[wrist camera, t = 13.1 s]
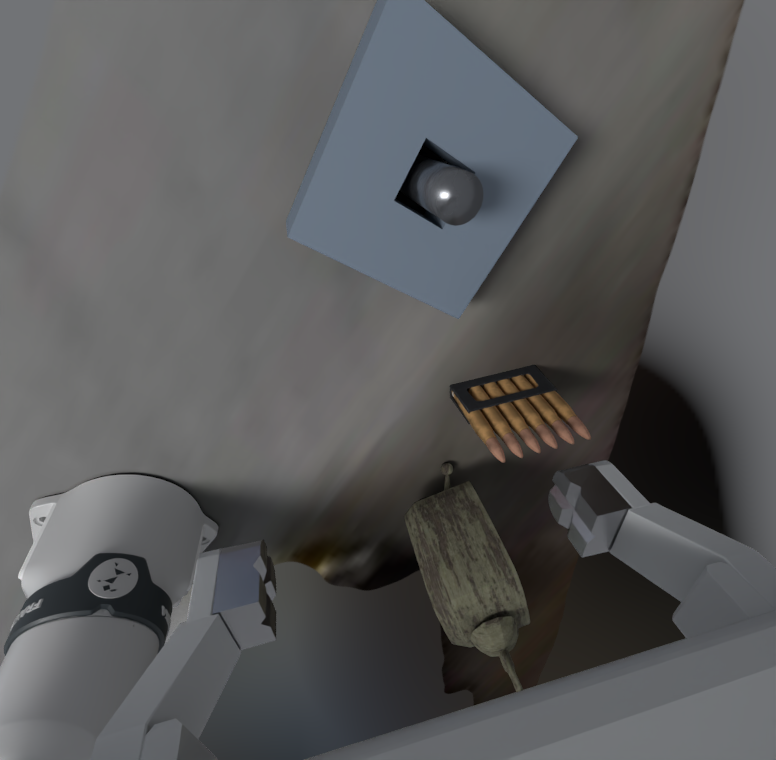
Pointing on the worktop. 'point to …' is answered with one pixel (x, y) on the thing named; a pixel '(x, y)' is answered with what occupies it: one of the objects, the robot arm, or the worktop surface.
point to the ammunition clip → (516, 410)
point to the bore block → (401, 146)
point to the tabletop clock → (468, 572)
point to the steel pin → (444, 190)
